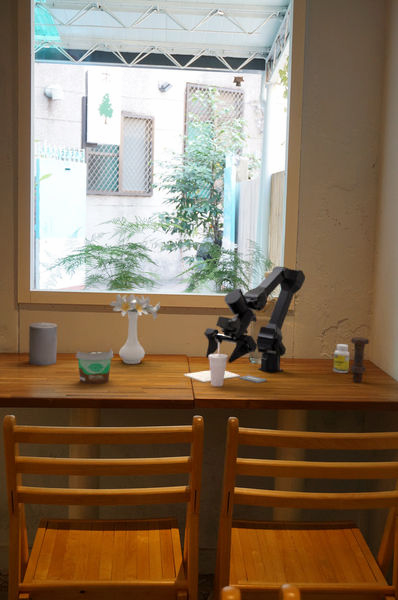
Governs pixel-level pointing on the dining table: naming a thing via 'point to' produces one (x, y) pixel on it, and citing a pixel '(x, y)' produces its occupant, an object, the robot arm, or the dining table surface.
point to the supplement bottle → (341, 359)
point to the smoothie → (217, 367)
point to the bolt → (358, 358)
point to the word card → (253, 379)
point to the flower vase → (133, 324)
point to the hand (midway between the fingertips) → (217, 359)
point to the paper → (208, 375)
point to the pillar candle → (42, 343)
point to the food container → (94, 366)
